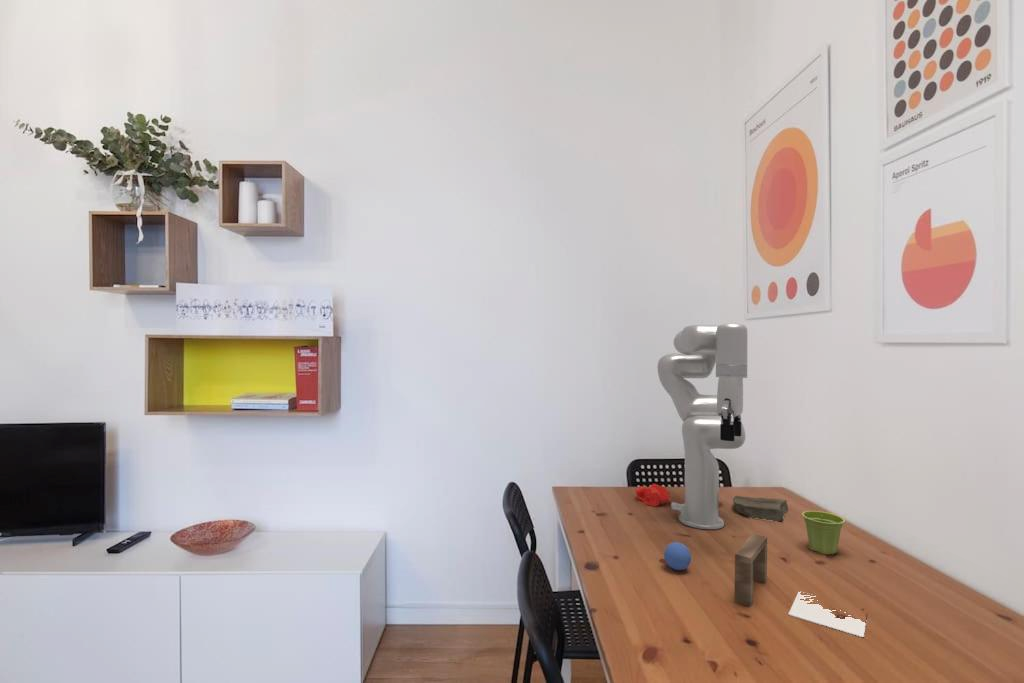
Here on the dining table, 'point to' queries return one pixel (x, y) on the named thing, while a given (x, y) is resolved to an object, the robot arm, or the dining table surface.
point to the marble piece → (761, 507)
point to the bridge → (750, 568)
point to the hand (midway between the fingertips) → (731, 438)
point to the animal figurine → (653, 494)
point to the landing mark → (825, 616)
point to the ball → (677, 556)
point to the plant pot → (823, 531)
